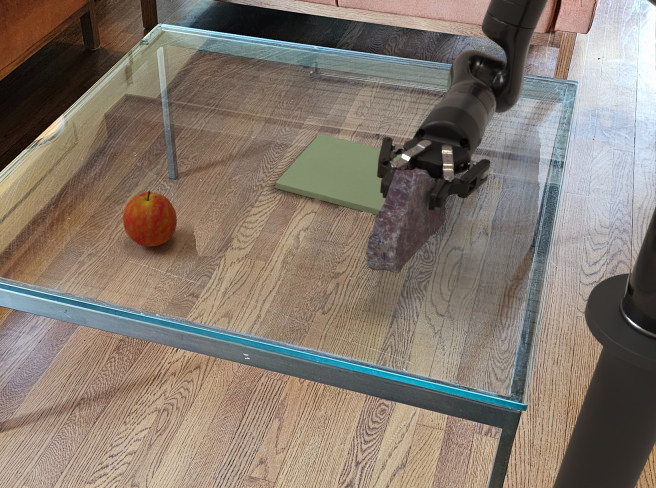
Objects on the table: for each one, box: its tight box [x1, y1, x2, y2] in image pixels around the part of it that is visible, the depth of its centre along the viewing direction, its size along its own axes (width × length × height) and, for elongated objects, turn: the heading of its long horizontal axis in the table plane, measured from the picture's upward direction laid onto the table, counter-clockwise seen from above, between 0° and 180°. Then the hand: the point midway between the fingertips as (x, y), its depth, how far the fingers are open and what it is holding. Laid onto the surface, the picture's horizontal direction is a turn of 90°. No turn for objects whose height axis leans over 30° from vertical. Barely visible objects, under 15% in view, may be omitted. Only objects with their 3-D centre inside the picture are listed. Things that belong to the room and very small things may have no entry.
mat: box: [275, 133, 436, 216], centre depth 123 cm, size 20×16×1 cm
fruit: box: [122, 190, 178, 248], centre depth 109 cm, size 7×7×8 cm
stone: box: [365, 167, 447, 274], centre depth 97 cm, size 10×6×15 cm
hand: (409, 197), depth 97 cm, fingers closed on stone, 5 cm apart
